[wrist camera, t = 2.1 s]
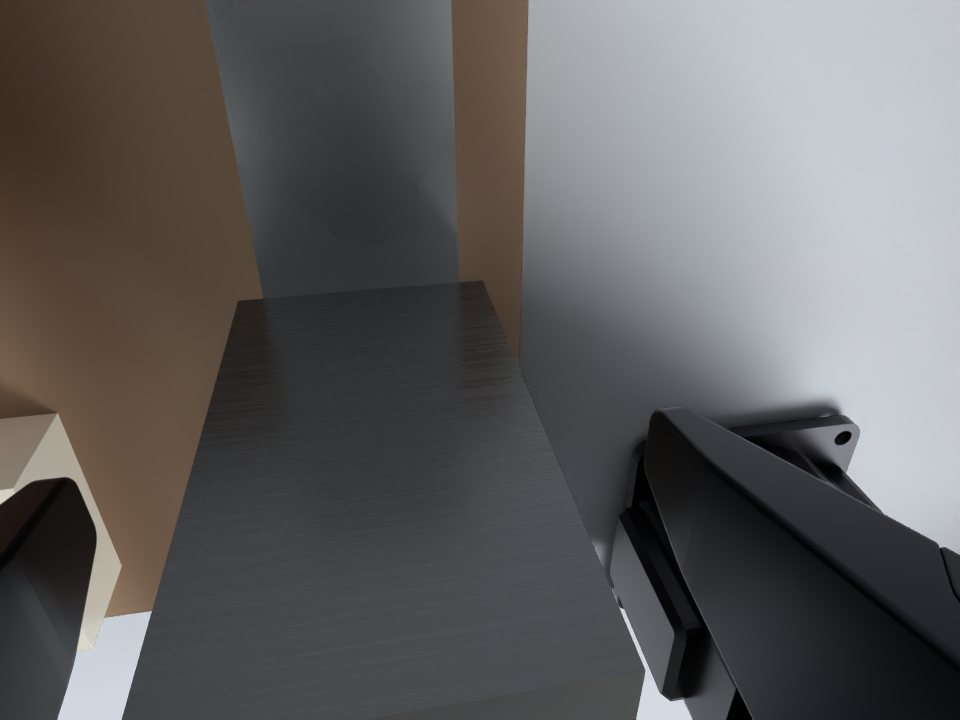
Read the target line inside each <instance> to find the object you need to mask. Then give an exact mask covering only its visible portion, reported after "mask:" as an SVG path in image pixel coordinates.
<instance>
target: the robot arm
mask: <svg viewBox="0 0 960 720" xmlns="http://www.w3.org/2000/svg"><path fill="white" fill-rule="evenodd" d="M859 435H860V430H859V427H858V426H857V425H856V424H855V423H854V422H853V421H852V420H851V419H850V418H848V417H846V416H843V415H837V416H829V417H821V418H813V419H804V420H796V421H788V422H780V423H772V424H763V425H755V426H747V427H739V428H731V429H725V428H723V427H722V426H720V425H718V424H716V423H714V422H712V421H710V420H709V419H707V418H705V417H703V416H701V415H699V414H697V413H696V412H694V411H692V410H690V409H688V408H686V407H682V406H678V407H670V408H661V409H657V410H655V411H654V412H653V413H652V415H651V418H650V423H649V429H648V436H647V440H644V441H643V442H641V443H640V444H638V445H637V447H636V448H635V449H634V451H633V454H632V460H631V467H630V474H629V481H628V488H627V495H626V503H625V508H622V510H621V512H620V513H619V515H618V516H617V522H616V530H615V537H614V545H613V552H612V560H611V567H610V576H611V579H612V581H613V583H614V588H613V593H614V597H615V599H616V601H617V604H618V605H619V607H620V608H623V609H625V612H626V614H627V617H628V619H629V621H630V624H631V626H632V628H633V631H634V633H635V635H636V638H637V640H638V642H639V645H640V647H641V650H642V652H643V654H644V657H645V659H646V661H647V664H648V666H649V668H650V671H651V673H652V675H653V678H654V680H655V683H656V685H657V687H658V690H659V692H660V694H662V695H663V696H664V697H666V698H667V699H668V700H670V701H676V700H682V699H683V700H684V702H685V704H686V706H687V709H688V711H689V713H690V715H691V717H692V720H960V555H959V554H957V553H955V552H953V551H952V550H950V549H948V548H946V547H941V548H939V545H938V544H937V543H936V542H935V541H933V540H931V539H929V538H927V537H925V536H924V535H922V534H920V533H918V532H916V531H914V530H912V529H911V528H909V527H907V526H905V525H903V524H901V523H899V522H898V521H896V520H894V519H892V518H890V517H888V516H886V515H885V514H883V512H882V511H881V510H880V509H879V508H878V507H877V506H876V505H875V504H874V503H873V502H872V501H871V500H870V499H869V498H868V497H867V496H866V494H865V493H864V492H863V491H862V490H861V489H860V488H859V487H858V486H857V485H856V484H855V483H854V482H853V481H852V480H851V479H850V477H849V476H848V475H847V474H846V471H847V469H848V466H849V463H850V460H851V458H852V455H853V452H854V449H855V447H856V444H857V441H858V438H859ZM96 546H97V532H96V527H95V524H94V522H93V520H92V517H91V515H90V513H89V510H88V508H87V506H86V503H85V501H84V499H83V496H82V494H81V492H80V489H79V487H78V485H77V484H76V482H75V481H74V480H73V479H71V478H68V477H59V478H51V479H42V480H36V481H32V482H30V483H29V484H27V485H26V486H24V487H23V488H22V489H20V490H19V491H18V492H16V493H15V494H14V495H12V496H11V497H9V498H8V499H7V500H5V501H4V502H3V503H1V504H0V720H57V719H58V715H59V712H60V709H61V706H62V703H63V699H64V696H65V693H66V690H67V687H68V683H69V680H70V676H71V672H72V669H73V665H74V661H75V656H76V652H77V647H78V642H79V637H80V632H81V626H82V621H83V616H84V610H85V605H86V600H87V594H88V589H89V584H90V578H91V573H92V568H93V562H94V557H95V552H96Z"/></svg>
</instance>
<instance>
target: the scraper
mask: <svg viewBox="0 0 960 720" xmlns="http://www.w3.org/2000/svg"><path fill="white" fill-rule="evenodd" d="M204 1H205V6H206V11H207V16H208V21H209V26H210V31H211V36H212V41H213V46H214V51H215V56H216V61H217V66H218V71H219V76H220V81H221V86H222V91H223V96H224V101H225V106H226V111H227V116H228V121H229V127H230V132H231V137H232V142H233V147H234V152H235V157H236V162H237V167H238V172H239V177H240V182H241V187H242V192H243V197H244V202H245V207H246V212H247V217H248V222H249V227H250V232H251V237H252V242H253V247H254V252H255V257H256V262H257V267H258V272H259V277H260V283H261V288H262V293H263V298H264V299H253V300H241V301H238V303H237V307H236V310H235V314H234V317H233V321H232V325H231V328H230V332H229V335H228V339H227V343H226V346H225V350H224V353H223V357H222V361H221V364H220V368H219V371H218V375H217V379H216V382H215V386H214V389H213V393H212V397H211V400H210V404H209V407H208V411H207V415H206V418H205V422H204V425H203V429H202V433H201V436H200V440H199V443H198V447H197V451H196V454H195V458H194V461H193V465H192V469H191V472H190V476H189V479H188V483H187V487H186V490H185V494H184V497H183V501H182V505H181V508H180V512H179V515H178V519H177V523H176V526H175V530H174V533H173V537H172V541H171V544H170V548H169V551H168V555H167V559H166V562H165V566H164V569H163V573H162V577H161V580H160V584H159V587H158V591H157V595H156V598H155V602H154V605H153V609H152V613H151V616H150V620H149V623H148V627H147V631H146V634H145V638H144V641H143V645H142V649H141V652H140V656H139V659H138V663H137V667H136V670H135V674H134V677H133V681H132V685H131V688H130V692H129V695H128V699H127V703H126V706H125V710H124V713H123V717H122V720H636V716H637V711H638V706H639V701H640V696H641V691H642V686H643V681H644V676H645V668H644V666H643V664H642V661H641V659H640V656H639V654H638V652H637V649H636V647H635V644H634V642H633V640H632V637H631V635H630V632H629V630H628V628H627V625H626V623H625V621H624V618H623V616H622V613H621V611H620V609H619V606H618V604H617V601H616V599H615V597H614V594H613V592H612V589H611V587H610V585H609V582H608V580H607V577H606V575H605V573H604V570H603V568H602V565H601V563H600V561H599V558H598V556H597V553H596V551H595V549H594V546H593V544H592V541H591V539H590V537H589V534H588V532H587V529H586V527H585V525H584V522H583V520H582V517H581V515H580V513H579V510H578V508H577V505H576V503H575V501H574V498H573V496H572V493H571V491H570V489H569V486H568V484H567V481H566V479H565V477H564V474H563V472H562V469H561V467H560V465H559V462H558V460H557V457H556V455H555V453H554V450H553V448H552V445H551V443H550V441H549V438H548V436H547V433H546V431H545V429H544V426H543V424H542V421H541V419H540V417H539V414H538V412H537V409H536V407H535V405H534V402H533V400H532V397H531V395H530V393H529V390H528V388H527V385H526V383H525V381H524V378H523V376H522V373H521V371H520V369H519V366H518V364H517V361H516V359H515V357H514V354H513V352H512V349H511V347H510V345H509V342H508V340H507V337H506V335H505V333H504V330H503V328H502V326H501V323H500V321H499V318H498V316H497V314H496V311H495V309H494V306H493V304H492V302H491V299H490V297H489V294H488V292H487V290H486V287H485V285H484V282H483V280H478V281H467V282H459V257H458V221H457V186H456V151H455V116H454V81H453V45H452V10H451V0H204Z"/></svg>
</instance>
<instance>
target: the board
mask: <svg viewBox="0 0 960 720" xmlns="http://www.w3.org/2000/svg"><path fill="white" fill-rule="evenodd" d="M451 10H452V45H453V81H454V116H455V151H456V186H457V221H458V257H459V282H467V281H478V280H483V282H484V285H485V287H486V290H487V292H488V294H489V297H490V299H491V302H492V304H493V306H494V309H495V311H496V314H497V316H498V318H499V321H500V323H501V326H502V328H503V330H504V333H505V335H506V337H507V340H508V342H509V345H510V347H511V349H512V352H513V354H514V357H515V359H516V361H517V364H518V366H519V358H520V318H521V277H522V237H523V197H524V156H525V116H526V76H527V35H528V0H451ZM253 299H264V298H263V293H262V288H261V283H260V277H259V272H258V267H257V262H256V257H255V252H254V247H253V242H252V237H251V232H250V227H249V222H248V217H247V212H246V207H245V202H244V197H243V192H242V187H241V182H240V177H239V172H238V167H237V162H236V157H235V152H234V147H233V142H232V137H231V132H230V127H229V121H228V116H227V111H226V106H225V101H224V96H223V91H222V86H221V81H220V76H219V71H218V66H217V61H216V56H215V51H214V46H213V41H212V36H211V31H210V26H209V21H208V16H207V11H206V6H205V1H204V0H0V419H5V418H15V417H24V416H34V415H44V414H53V413H58V415H59V417H60V420H61V422H62V425H63V427H64V429H65V432H66V434H67V436H68V439H69V441H70V444H71V446H72V448H73V451H74V453H75V455H76V458H77V460H78V463H79V465H80V467H81V470H82V472H83V475H84V477H85V479H86V482H87V484H88V486H89V489H90V491H91V494H92V496H93V498H94V501H95V503H96V506H97V508H98V510H99V513H100V515H101V517H102V520H103V522H104V525H105V527H106V529H107V532H108V534H109V537H110V539H111V541H112V544H113V546H114V548H115V551H116V553H117V556H118V558H119V560H120V563H121V565H122V567H121V570H120V573H119V576H118V579H117V582H116V584H115V587H114V590H113V593H112V596H111V599H110V602H109V605H108V608H107V610H106V613H105V616H104V618H106V617H113V616H119V615H126V614H133V613H140V612H147V611H152V609H153V605H154V602H155V598H156V595H157V591H158V587H159V584H160V580H161V577H162V573H163V569H164V566H165V562H166V559H167V555H168V551H169V548H170V544H171V541H172V537H173V533H174V530H175V526H176V523H177V519H178V515H179V512H180V508H181V505H182V501H183V497H184V494H185V490H186V487H187V483H188V479H189V476H190V472H191V469H192V465H193V461H194V458H195V454H196V451H197V447H198V443H199V440H200V436H201V433H202V429H203V425H204V422H205V418H206V415H207V411H208V407H209V404H210V400H211V397H212V393H213V389H214V386H215V382H216V379H217V375H218V371H219V368H220V364H221V361H222V357H223V353H224V350H225V346H226V343H227V339H228V335H229V332H230V328H231V325H232V321H233V317H234V314H235V310H236V307H237V303H238V301H241V300H253Z"/></svg>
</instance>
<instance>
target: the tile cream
mask: <svg viewBox="0 0 960 720" xmlns="http://www.w3.org/2000/svg"><path fill="white" fill-rule="evenodd" d="M59 477H68V478H71V479H73V480H74V481H75V482H76V484H77V485H78V487H79V489H80V492H81V494H82V496H83V499H84V501H85V503H86V506H87V508H88V510H89V513H90V515H91V517H92V520H93V522H94V524H95V527H96V532H97V546H96V552H95V557H94V562H93V568H92V573H91V578H90V584H89V589H88V594H87V600H86V605H85V610H84V616H83V621H82V626H81V632H80V637H79V642H78V647H77V651H83V650H90V649H93V648H94V645H95V642H96V639H97V637H98V634H99V631H100V628H101V625H102V622H103V619H104V616H105V613H106V610H107V608H108V605H109V602H110V599H111V596H112V593H113V590H114V587H115V584H116V582H117V579H118V576H119V573H120V570H121V567H122V565H121V563H120V560H119V558H118V556H117V553H116V551H115V548H114V546H113V544H112V541H111V539H110V537H109V534H108V532H107V529H106V527H105V525H104V522H103V520H102V517H101V515H100V513H99V510H98V508H97V506H96V503H95V501H94V498H93V496H92V494H91V491H90V489H89V486H88V484H87V482H86V479H85V477H84V475H83V472H82V470H81V467H80V465H79V463H78V460H77V458H76V455H75V453H74V451H73V448H72V446H71V444H70V441H69V439H68V436H67V434H66V432H65V429H64V427H63V425H62V422H61V420H60V417H59V415H58V413H53V414H44V415H34V416H24V417H15V418H5V419H0V504H1V503H3V502H4V501H5V500H7V499H8V498H9V497H11V496H12V495H14V494H15V493H16V492H18V491H19V490H20V489H22V488H23V487H24V486H26V485H27V484H29V483H30V482H32V481H36V480H42V479H51V478H59Z"/></svg>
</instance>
